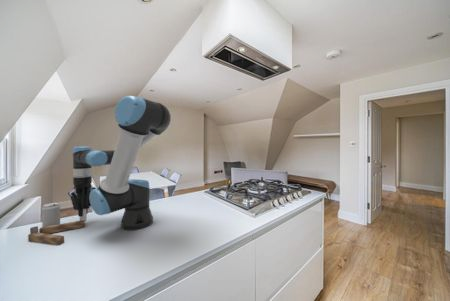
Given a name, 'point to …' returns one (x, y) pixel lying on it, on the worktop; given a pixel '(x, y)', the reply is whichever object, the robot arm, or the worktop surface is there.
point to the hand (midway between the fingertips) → (83, 221)
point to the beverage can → (50, 214)
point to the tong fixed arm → (44, 237)
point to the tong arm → (62, 227)
